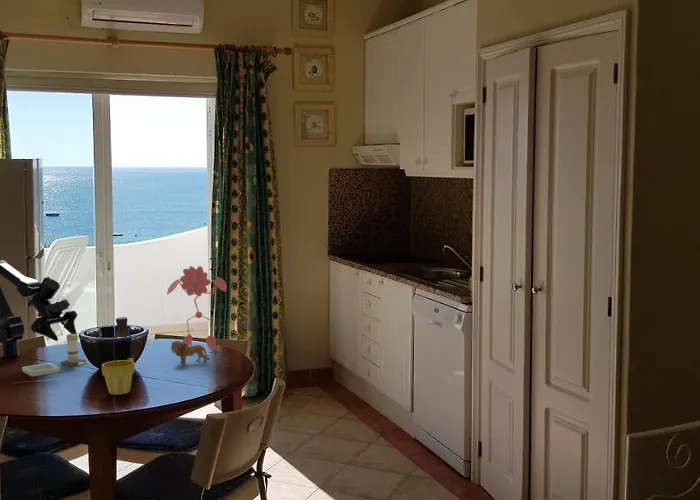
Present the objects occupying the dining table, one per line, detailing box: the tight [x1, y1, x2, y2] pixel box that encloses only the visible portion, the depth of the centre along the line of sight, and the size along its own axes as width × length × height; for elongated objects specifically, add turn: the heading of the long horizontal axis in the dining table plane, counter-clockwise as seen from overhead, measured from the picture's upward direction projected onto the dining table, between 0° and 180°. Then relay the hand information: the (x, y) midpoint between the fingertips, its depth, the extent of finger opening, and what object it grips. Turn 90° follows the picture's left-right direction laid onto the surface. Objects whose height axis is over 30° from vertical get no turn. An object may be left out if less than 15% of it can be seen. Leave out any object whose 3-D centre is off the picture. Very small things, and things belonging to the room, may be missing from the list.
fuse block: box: [57, 358, 89, 368], centre depth 305 cm, size 9×7×2 cm
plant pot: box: [101, 360, 136, 396], centre depth 267 cm, size 10×10×10 cm
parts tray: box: [21, 362, 61, 377], centre depth 293 cm, size 10×10×2 cm
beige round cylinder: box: [66, 333, 80, 363], centre depth 304 cm, size 4×4×11 cm
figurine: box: [166, 265, 228, 357], centre depth 324 cm, size 15×26×35 cm, turn 80°
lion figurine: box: [170, 340, 211, 365], centre depth 308 cm, size 15×5×9 cm, turn 113°
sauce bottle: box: [113, 316, 135, 363], centre depth 294 cm, size 7×6×20 cm
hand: (66, 337), depth 305 cm, fingers open, 9 cm apart
